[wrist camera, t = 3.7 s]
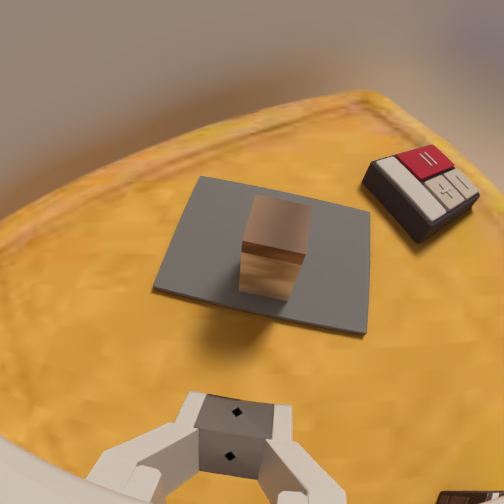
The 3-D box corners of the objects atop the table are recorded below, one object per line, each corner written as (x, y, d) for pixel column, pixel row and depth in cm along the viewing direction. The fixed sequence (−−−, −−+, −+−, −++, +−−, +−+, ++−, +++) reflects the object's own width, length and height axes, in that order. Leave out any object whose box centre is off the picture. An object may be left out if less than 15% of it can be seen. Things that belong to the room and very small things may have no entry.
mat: (154, 288, 30) (153, 285, 29) (200, 179, 37) (200, 175, 37) (364, 335, 28) (366, 333, 28) (368, 215, 36) (369, 212, 36)
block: (238, 290, 29) (242, 240, 23) (249, 250, 32) (255, 194, 25) (287, 301, 29) (305, 254, 22) (294, 260, 32) (312, 206, 25)
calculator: (484, 191, 36) (434, 223, 31) (469, 210, 40) (416, 245, 35) (432, 140, 41) (371, 156, 36) (421, 160, 45) (360, 181, 40)
